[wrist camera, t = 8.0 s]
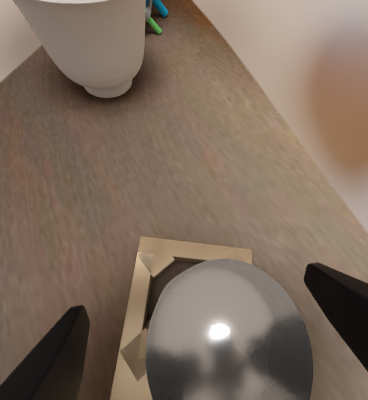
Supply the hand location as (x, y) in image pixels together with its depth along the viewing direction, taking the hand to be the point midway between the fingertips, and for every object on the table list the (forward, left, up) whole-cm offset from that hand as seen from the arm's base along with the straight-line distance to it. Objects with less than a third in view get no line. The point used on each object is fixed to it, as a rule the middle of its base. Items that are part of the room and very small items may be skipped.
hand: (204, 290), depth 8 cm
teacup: (+23, +12, -9) cm, 27 cm away
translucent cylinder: (-1, 0, -9) cm, 9 cm away
